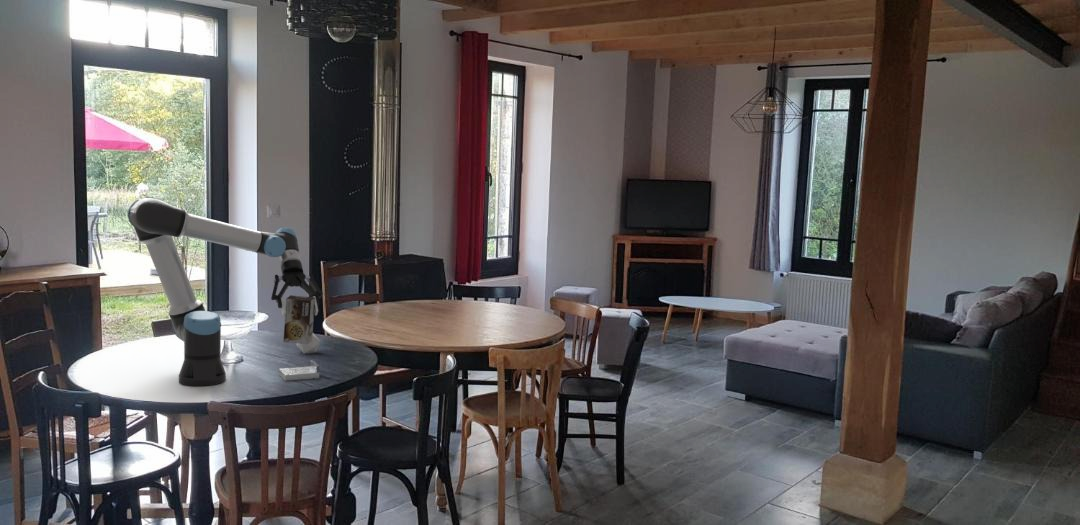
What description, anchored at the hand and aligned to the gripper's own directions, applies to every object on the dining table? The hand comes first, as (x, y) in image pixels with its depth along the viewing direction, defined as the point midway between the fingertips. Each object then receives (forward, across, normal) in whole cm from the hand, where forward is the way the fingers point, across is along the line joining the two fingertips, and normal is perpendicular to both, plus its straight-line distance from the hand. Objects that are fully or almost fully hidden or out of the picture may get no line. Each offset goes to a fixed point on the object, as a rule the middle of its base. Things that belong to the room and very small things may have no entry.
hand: (300, 313), depth 300 cm
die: (-10, +12, +43) cm, 46 cm away
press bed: (+15, 0, +17) cm, 23 cm away
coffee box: (+6, -1, +8) cm, 11 cm away
